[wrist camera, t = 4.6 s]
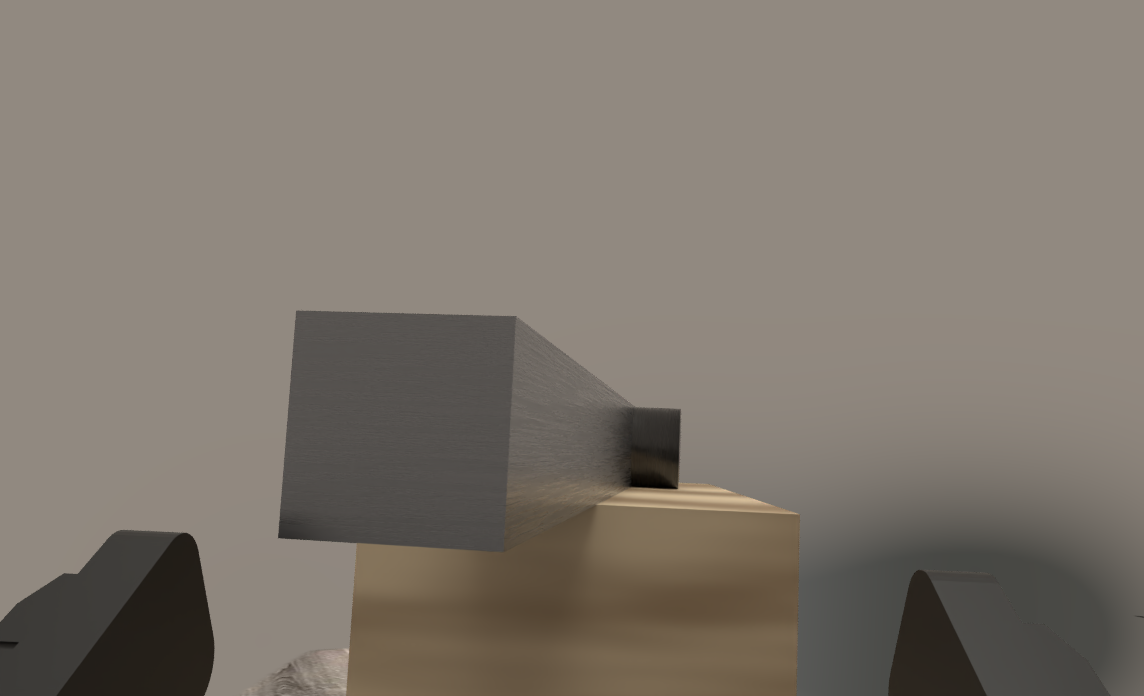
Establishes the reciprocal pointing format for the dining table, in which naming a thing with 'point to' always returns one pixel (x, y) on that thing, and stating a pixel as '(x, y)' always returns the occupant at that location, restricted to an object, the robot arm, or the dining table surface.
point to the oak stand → (590, 605)
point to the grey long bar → (454, 433)
